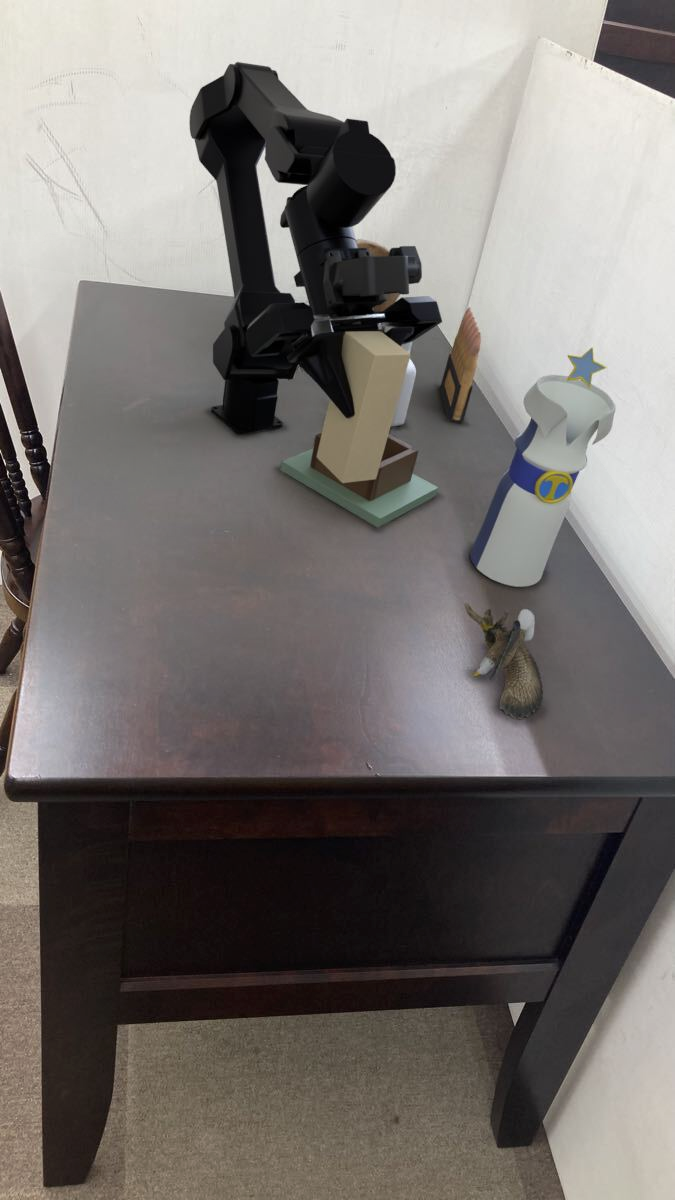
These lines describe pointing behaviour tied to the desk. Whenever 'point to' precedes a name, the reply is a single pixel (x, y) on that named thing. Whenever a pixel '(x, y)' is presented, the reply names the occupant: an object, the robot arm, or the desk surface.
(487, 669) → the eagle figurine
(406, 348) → the eye dropper bottle
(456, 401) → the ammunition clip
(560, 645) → the desk surface
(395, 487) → the seat base
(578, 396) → the white superhero chess piece
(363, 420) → the tan rectangular block
